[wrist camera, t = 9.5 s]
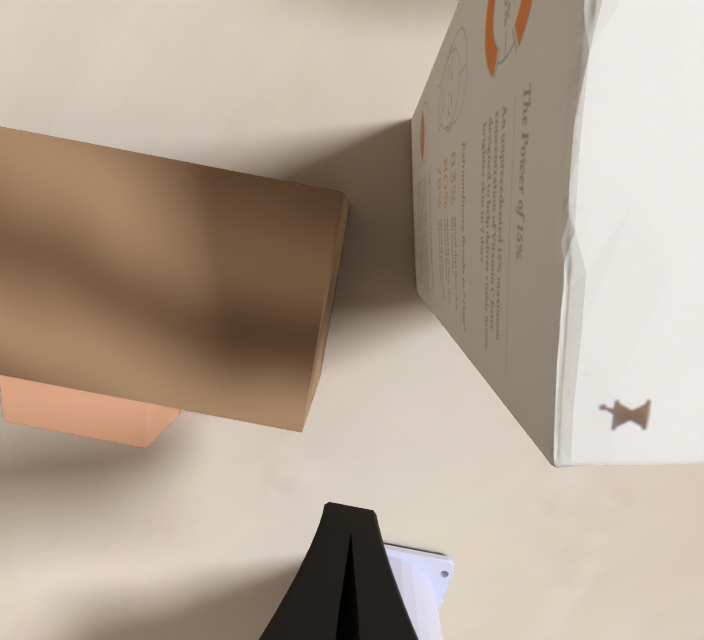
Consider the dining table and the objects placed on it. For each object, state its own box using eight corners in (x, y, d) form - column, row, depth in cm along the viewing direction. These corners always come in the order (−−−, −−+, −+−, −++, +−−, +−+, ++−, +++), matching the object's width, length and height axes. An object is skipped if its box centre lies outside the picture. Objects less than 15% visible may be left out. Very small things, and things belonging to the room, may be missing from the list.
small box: (546, 286, 17) (1096, 468, 4) (414, 295, 17) (543, 485, 4) (559, 98, 15) (1755, -715, 2) (409, 113, 15) (620, -482, 2)
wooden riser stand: (320, 376, 18) (301, 432, 13) (-83, 299, 18) (-252, 326, 13) (350, 203, 16) (341, 191, 11) (-112, 114, 16) (-332, 62, 11)
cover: (179, 415, 19) (146, 448, 17) (58, 392, 19) (3, 421, 17) (187, 277, 17) (150, 287, 14) (51, 251, 17) (-13, 256, 14)
